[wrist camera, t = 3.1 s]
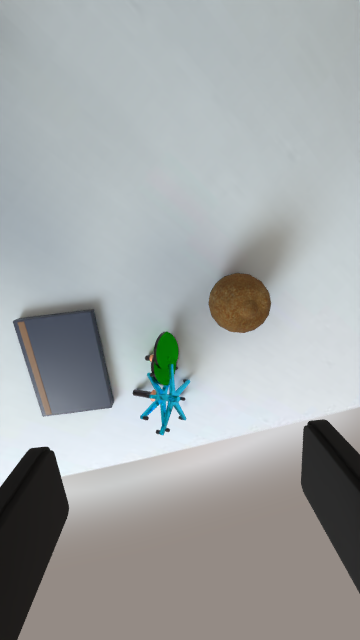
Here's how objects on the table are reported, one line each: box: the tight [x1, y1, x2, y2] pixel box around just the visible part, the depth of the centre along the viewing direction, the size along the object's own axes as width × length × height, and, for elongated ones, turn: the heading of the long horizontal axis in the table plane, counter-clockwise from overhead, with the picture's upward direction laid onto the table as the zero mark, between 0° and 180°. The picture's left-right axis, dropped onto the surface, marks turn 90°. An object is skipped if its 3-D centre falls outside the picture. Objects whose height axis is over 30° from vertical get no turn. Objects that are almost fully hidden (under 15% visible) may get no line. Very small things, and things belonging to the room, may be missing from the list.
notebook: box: [13, 309, 114, 417], centre depth 30 cm, size 13×9×1 cm
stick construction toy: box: [133, 332, 190, 435], centre depth 30 cm, size 12×7×8 cm
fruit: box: [209, 273, 271, 333], centre depth 25 cm, size 6×6×8 cm
